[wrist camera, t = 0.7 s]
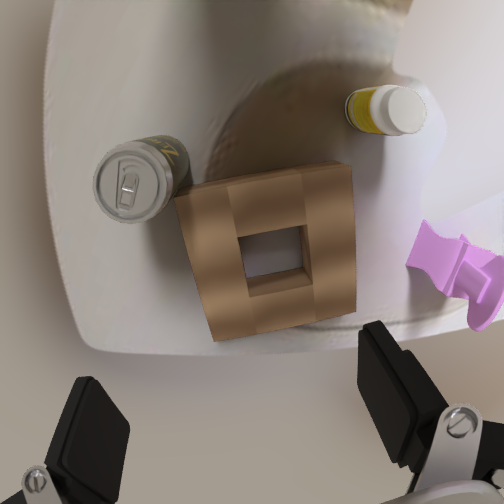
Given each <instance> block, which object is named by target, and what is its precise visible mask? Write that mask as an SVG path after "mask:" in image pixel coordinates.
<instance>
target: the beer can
mask: <svg viewBox="0 0 504 504" xmlns="http://www.w3.org/2000/svg"><path fill="white" fill-rule="evenodd" d="M188 167H189V157H188V152H187V151H186V149H185V147H184V145H183V144H182V143H181V142H179V141H178V140H177V139H175V138H173V137H171V136H165V135H159V136H154V137H149V138H144V139H139V140H134V141H130V142H126V143H122V144H119V145H117V146H115V147H114V148H113V149H111V150H110V151H108V152H107V153H106V155H105V156H104V157H103V159H102V160H101V161H100V163H99V164H98V165H97V168H96V171H95V173H94V176H93V192H94V196H95V200H96V202H97V203H98V205H99V207H100V208H101V210H102V211H103V212H104V213H105V214H106V215H107V216H109V217H110V218H111V219H114V220H116V221H118V222H120V223H127V224H134V223H139V222H143V221H146V220H149V219H151V218H152V217H154V216H156V215H158V214H159V213H160V212H161V210H162V209H163V208H164V207H165V206H166V205H167V203H168V202H169V200H170V199H171V197H172V196H173V194H174V193H175V191H176V190H177V188H178V187H179V185H180V184H181V182H182V181H183V179H184V178H185V175H186V173H187V171H188Z"/></svg>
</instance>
